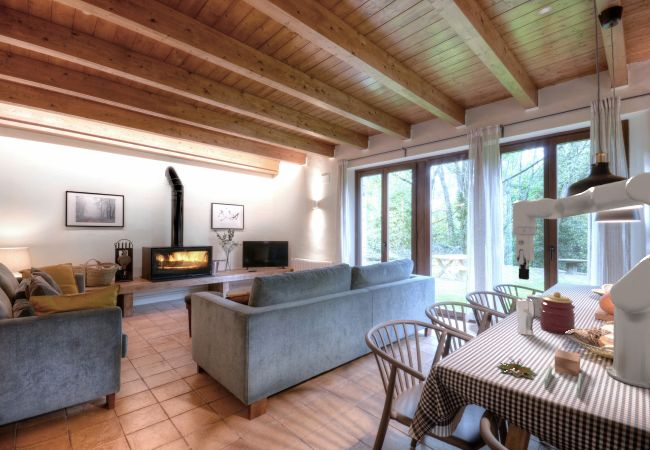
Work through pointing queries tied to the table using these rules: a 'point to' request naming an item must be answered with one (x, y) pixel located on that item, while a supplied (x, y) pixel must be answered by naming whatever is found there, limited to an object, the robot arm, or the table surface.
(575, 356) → the terracotta block
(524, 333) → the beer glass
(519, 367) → the green twiggy clump
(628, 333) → the robot arm
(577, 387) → the pair of grey-green bars
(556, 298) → the canister
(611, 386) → the table surface
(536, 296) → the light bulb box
